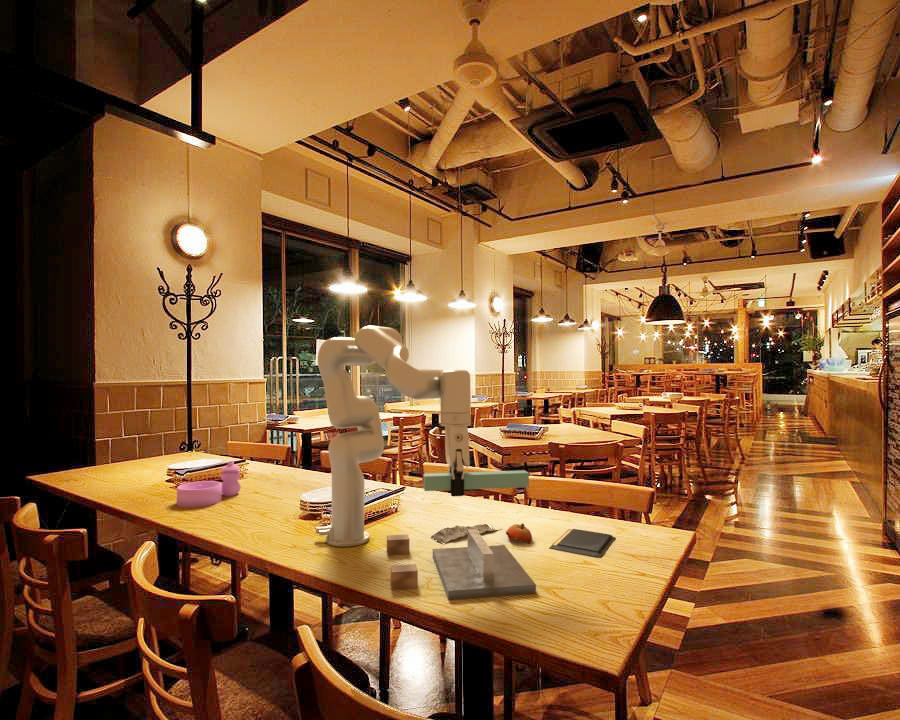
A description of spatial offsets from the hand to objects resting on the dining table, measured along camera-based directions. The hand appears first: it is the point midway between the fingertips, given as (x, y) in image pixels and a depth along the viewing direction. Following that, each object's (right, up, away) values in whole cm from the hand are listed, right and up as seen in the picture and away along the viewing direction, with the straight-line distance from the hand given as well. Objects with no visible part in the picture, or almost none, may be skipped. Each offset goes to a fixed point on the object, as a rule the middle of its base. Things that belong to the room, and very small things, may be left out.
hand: (456, 493), depth 124 cm
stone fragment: (+4, -21, +31) cm, 38 cm away
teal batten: (+5, +1, +1) cm, 5 cm away
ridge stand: (+6, -20, 0) cm, 21 cm away
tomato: (+19, -21, +24) cm, 37 cm away
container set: (-95, -22, +71) cm, 120 cm away
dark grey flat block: (+37, -21, +22) cm, 49 cm away
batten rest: (-14, -20, +4) cm, 25 cm away
